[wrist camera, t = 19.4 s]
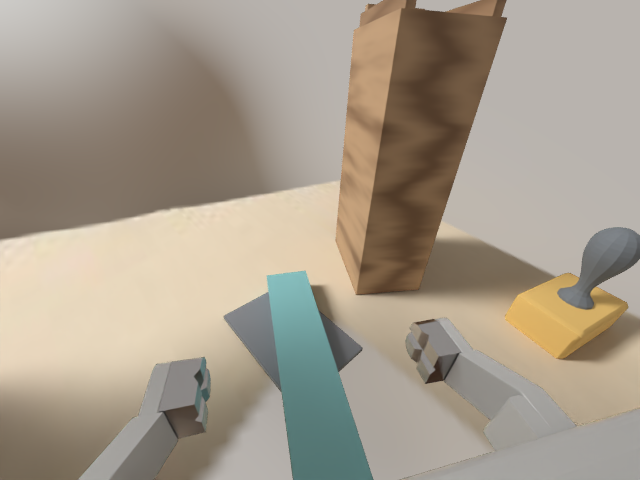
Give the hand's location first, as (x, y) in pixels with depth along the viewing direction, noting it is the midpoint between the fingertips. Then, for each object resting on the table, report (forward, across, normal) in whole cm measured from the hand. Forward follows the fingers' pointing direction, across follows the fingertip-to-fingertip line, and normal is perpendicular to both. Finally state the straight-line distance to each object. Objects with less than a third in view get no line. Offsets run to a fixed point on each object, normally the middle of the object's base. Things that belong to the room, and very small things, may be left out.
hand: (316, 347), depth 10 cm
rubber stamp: (+7, -29, +13) cm, 33 cm away
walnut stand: (+21, -13, +13) cm, 28 cm away
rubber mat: (+11, 0, +13) cm, 17 cm away
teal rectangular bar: (+8, -1, +13) cm, 15 cm away
